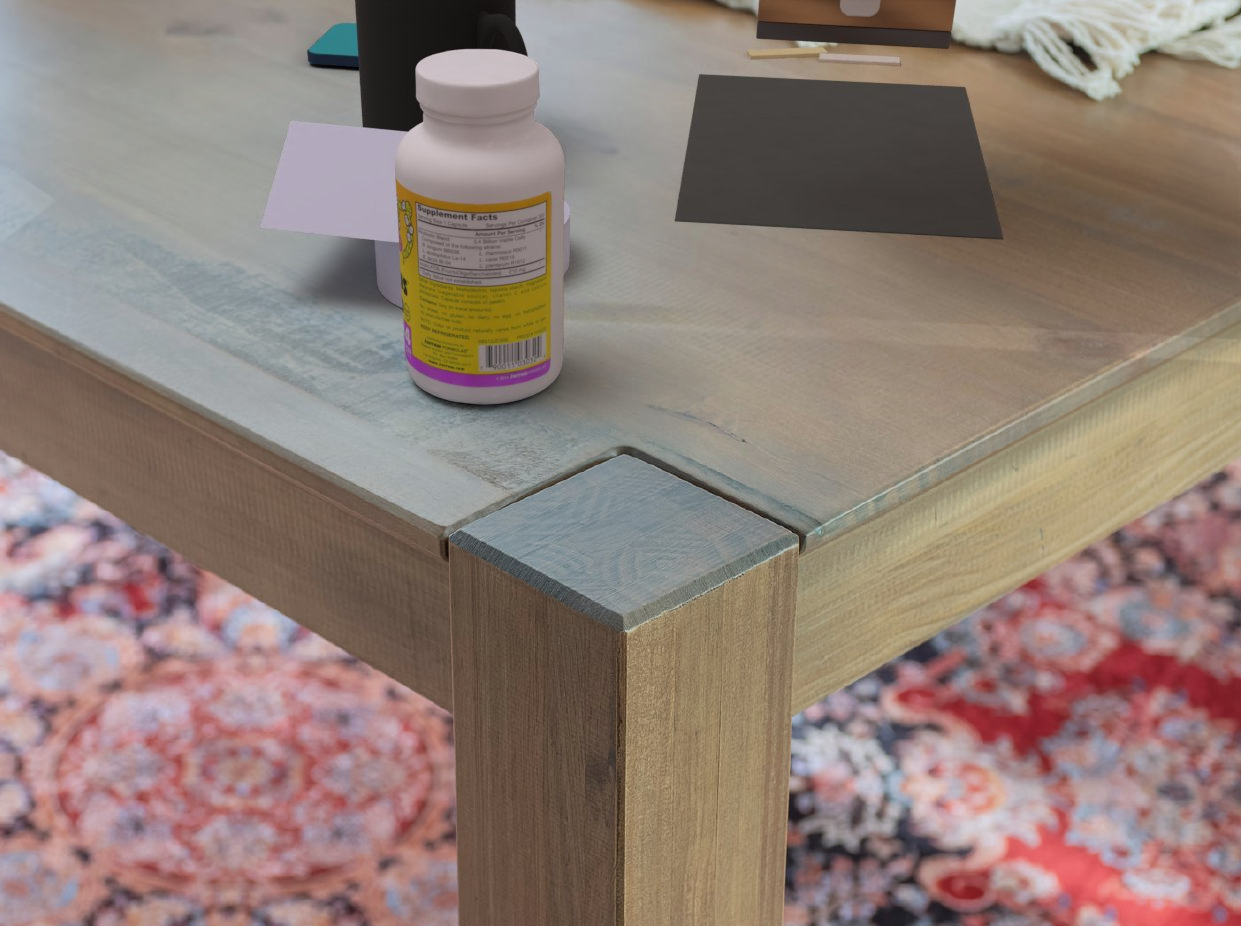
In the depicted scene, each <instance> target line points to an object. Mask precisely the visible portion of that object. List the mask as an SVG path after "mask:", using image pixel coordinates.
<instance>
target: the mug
mask: <svg viewBox="0 0 1241 926" xmlns="http://www.w3.org/2000/svg"><path fill="white" fill-rule="evenodd" d="M516 4H517V3H516V0H354V6H355V7H354V8H355V9H354V10H355V23H356V26H357V43H358V60H359V67H358V73H359V74H358V76H359V89H360V92H359V93H360V109H361V120H362V121H361V125H362V126H361V127H363V128H374V129H384V130H394V131H405V132H409V131H410V130H411V129H412V128H414V127H415V126H417V125H418V124H420V123H422V122H423V112H424V111H423V110H422V109H421V107H420V103H419V102H418V100H417V98H416V66H417V64H418V63H419V62H420V61H421V60H423V59H424V58H426V57H428V56H431V55H434V54H438V53H442V52H446V51H452V50H462V49H496V50H504V51H510V52H515V53H518V54H522V55H525V56H527V57H529V55H528V51H527V47H526V43H525V40H524V38H523V35H522V33H521V31H520V30H519V29H520V28H519V27H518V25H517V19H516V18H517V11H516V10H517V7H516V6H517V5H516Z"/></svg>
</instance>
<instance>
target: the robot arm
mask: <svg viewBox="0 0 1241 926" xmlns="http://www.w3.org/2000/svg"><path fill="white" fill-rule="evenodd" d="M880 1H881V0H840V8H841V11H842V12H843V13H844V14H845V15H847V16H862V17H871V16H874V15H875V14H876V13H877V12H878V10H879V8H880Z"/></svg>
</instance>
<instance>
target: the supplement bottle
mask: <svg viewBox="0 0 1241 926" xmlns="http://www.w3.org/2000/svg"><path fill="white" fill-rule="evenodd" d="M540 89H541V88H540V67H539V65H538V63H537V61H535V60H534V59H533V58H531V57H529V56H528V57H527V56H525V55H522V54H518V53H515V52H510V51H504V50H496V49H462V50H452V51H446V52H442V53H438V54H434V55H431V56H428V57H426V58H424V59H423V60H421V61H420V62H419V63H418V64H417V66H416V98H417V100H418V102H419V103H420V107H421V109H422V110H423V111H424V112H423V122H422V123H420V124H418V125H417V126H415V127H414V128H412V129H411V130H410V131H409V132H408V133H407V134H406V135H405V136H404V137H403V139H402V140H401V142H400V144H399V146H398V148H397V151H396V155H395V181H396V197H397V215H398V233H399V252H400V271H401V290H402V308H401V309H402V325H403V326H402V327H403V342H404V345H403V346H404V353H405V365H406V369H407V372H408V375H409V376H410V378H411V379H412V381H413V382H414V383H415V384H416V385H417V386H418V387H419V388H420V389H422V390H423V391H425V392H426V393H428V394H429V395H432V396H434V397H436V398H439V399H443V400H446V401H449V402H454V403H462V404H470V405H500V404H501V405H502V404H507V403H512V402H518V401H520V400H524V399H527V398H529V397H533V396H534V395H536V394H538V393H541V392H542V391H544V390H545V389H547V388H548V387H549V386H550V385H552V384H553V383H554V381H555V380H556V379H557V378H558V376H559V375H560V373H561V371H562V368H563V363H564V336H565V335H564V331H565V330H564V329H565V327H564V324H565V323H564V319H565V318H564V317H565V316H564V315H565V314H564V313H565V312H564V311H565V310H564V308H565V307H564V305H565V304H564V303H565V301H564V300H565V299H564V295H565V293H564V292H565V289H564V287H565V286H564V285H565V284H564V282H565V281H564V280H565V278H564V277H565V276H564V275H565V274H564V200H565V156H564V151H563V148H562V145H561V144H560V142H559V140H558V139H557V137H556V136H555V134H554V133H553V132H552V131H551V130H550V129H548V128H547V127H546V126H545V125H543V124H541V123H540V122H538V121H536V120H535V110H536V109H537V106H538V101H539V99H540V97H541V95H540V94H541V91H540Z"/></svg>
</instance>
